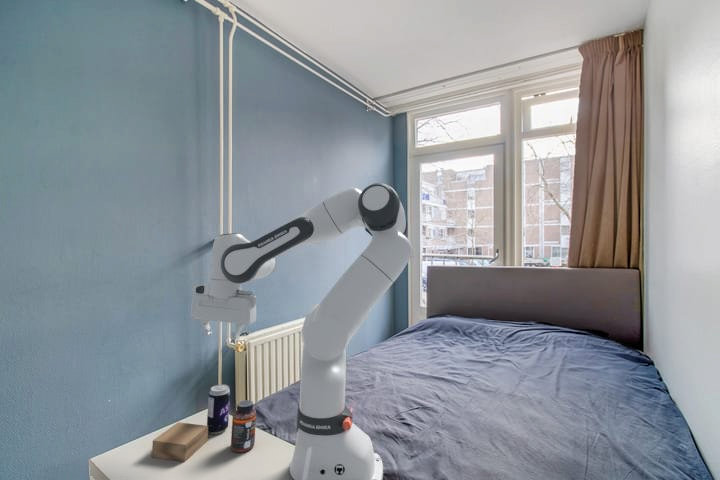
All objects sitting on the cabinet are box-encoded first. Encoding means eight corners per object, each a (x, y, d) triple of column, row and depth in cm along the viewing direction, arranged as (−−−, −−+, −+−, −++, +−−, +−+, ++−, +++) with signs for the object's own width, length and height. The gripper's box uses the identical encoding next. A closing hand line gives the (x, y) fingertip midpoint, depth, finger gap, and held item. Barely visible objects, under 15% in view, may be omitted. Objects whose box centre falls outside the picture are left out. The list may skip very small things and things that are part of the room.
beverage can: (219, 437, 89) (222, 392, 90) (201, 434, 90) (204, 390, 91) (231, 426, 95) (234, 385, 95) (214, 423, 96) (217, 382, 97)
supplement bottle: (254, 452, 83) (256, 407, 84) (229, 455, 81) (232, 409, 82) (254, 439, 89) (257, 397, 89) (231, 441, 87) (234, 399, 88)
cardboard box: (207, 441, 87) (208, 425, 87) (184, 461, 78) (185, 444, 78) (177, 437, 88) (178, 422, 89) (151, 457, 80) (152, 440, 80)
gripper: (262, 290, 94) (259, 338, 93) (204, 285, 99) (200, 330, 99) (249, 292, 88) (245, 344, 87) (188, 287, 93) (184, 335, 93)
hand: (221, 337), depth 93 cm, fingers open, 8 cm apart
